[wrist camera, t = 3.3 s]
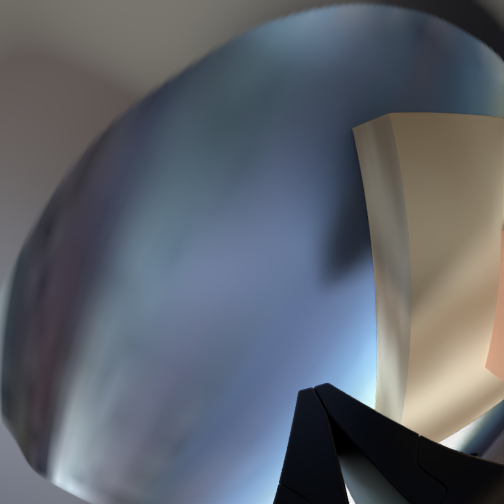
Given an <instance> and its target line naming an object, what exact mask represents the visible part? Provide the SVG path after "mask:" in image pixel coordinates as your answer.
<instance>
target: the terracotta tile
mask: <svg viewBox="0 0 504 504" xmlns="http://www.w3.org/2000/svg"><path fill="white" fill-rule="evenodd" d="M485 368H486V369H488V370H489V371H490V372H491V373H493V374H494V375H495V376H496V377H498V378H499V379H500V380H501V381H503V382H504V229H502V230H501V260H500V276H499V288H498V297H497V306H496V313H495V320H494V326H493V331H492V337H491V342H490V347H489V352H488V356H487V360H486V364H485Z"/></svg>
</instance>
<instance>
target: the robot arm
mask: <svg viewBox="0 0 504 504" xmlns="http://www.w3.org/2000/svg"><path fill="white" fill-rule="evenodd" d="M478 457H479V456H478V454H477V453H475V454H473V455H472V456H471V455H468V454H465V453H462V452H459V451H456V450H453V449H451V448H448V447H446V446H443V445H441V444H439V443H437V442H434V441H432V440H430V439H428V438H426V437H424V436H422V435H420V436H419V434H418V433H416V432H414V431H412V430H411V429H409V428H407V427H405V426H403V425H401V424H399V423H397V422H396V421H394V420H392V419H390V418H388V417H386V416H385V415H383V414H381V413H379V412H377V411H376V410H374V409H372V408H370V407H369V406H367V405H365V404H363V403H362V402H360V401H358V400H356V399H355V398H353V397H351V396H350V395H348V394H346V393H345V392H343V391H341V390H340V389H338V388H336V387H335V386H333V385H331V384H330V383H325V384H321V385H318V386H315V387H314V388H312V387H311V388H307V389H303V390H300V391H299V392H298V397H297V402H296V407H295V412H294V417H293V422H292V427H291V432H290V437H289V441H288V446H287V451H286V455H285V459H284V464H283V468H282V472H281V476H280V480H279V485H278V488H277V492H276V495H275V499H274V502H273V504H349V501H348V496H347V492H346V487H345V484H346V486H347V488H348V490H349V492H350V494H351V496H352V498H353V500H354V502H355V504H504V464H500V463H496V462H493V461H489V460H485V459H482V458H478ZM344 482H345V483H344Z"/></svg>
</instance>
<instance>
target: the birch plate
mask: <svg viewBox="0 0 504 504" xmlns="http://www.w3.org/2000/svg"><path fill="white" fill-rule="evenodd" d="M352 130H353V134H354V139H355V144H356V149H357V154H358V159H359V164H360V169H361V175H362V181H363V186H364V193H365V199H366V206H367V213H368V220H369V228H370V237H371V246H372V256H373V267H374V279H375V295H376V316H377V385H376V406H375V410H376V411H377V412H379V413H381V414H383V415H385V416H386V417H388V418H390V419H392V420H394V421H396V422H397V423H399V424H401V425H403V426H405V427H407V428H409V429H411V430H412V431H414V432H416V433H418V434H419V436H420V435H422V436H424V437H426V438H428V439H430V440H432V441H434V442H437V443H439V442H441V441H442V440H444V439H446V438H448V437H449V436H451V435H453V434H454V433H456V432H458V431H459V430H461V429H462V428H464V427H465V426H467V425H469V424H470V423H472V422H473V421H475V420H476V419H478V418H479V417H480V416H482V415H483V414H485V413H486V412H488V411H489V410H490V409H492V408H493V407H494V406H496V405H497V404H498V403H500V402H501V401H502V400H504V382H503V381H501V380H500V379H499V378H498V377H496V376H495V375H494V374H493V373H491V372H490V371H489V370H488V369H486V368H485V364H486V360H487V356H488V352H489V347H490V342H491V337H492V331H493V326H494V320H495V313H496V306H497V297H498V288H499V276H500V260H501V230H502V229H504V118H502V117H493V116H483V115H471V114H455V113H420V112H409V113H387V114H385V115H382V116H380V117H378V118H375V119H373V120H370V121H368V122H365V123H363V124H361V125H358V126H356V127H354V128H352Z"/></svg>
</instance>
